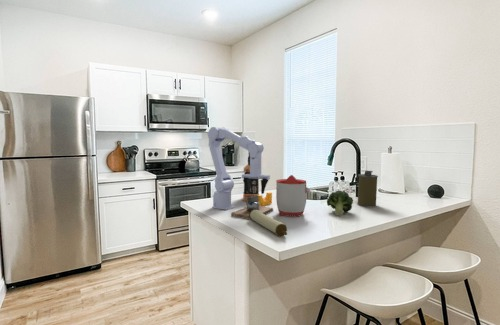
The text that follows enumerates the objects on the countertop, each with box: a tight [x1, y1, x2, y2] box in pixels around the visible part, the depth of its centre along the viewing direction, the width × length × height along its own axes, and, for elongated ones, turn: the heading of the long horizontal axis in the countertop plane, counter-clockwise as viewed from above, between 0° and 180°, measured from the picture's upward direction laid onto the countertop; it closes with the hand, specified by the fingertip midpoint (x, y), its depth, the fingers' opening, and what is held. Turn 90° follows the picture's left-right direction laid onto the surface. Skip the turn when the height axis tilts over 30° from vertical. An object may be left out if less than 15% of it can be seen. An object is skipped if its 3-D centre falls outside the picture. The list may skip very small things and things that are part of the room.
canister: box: [356, 170, 379, 208], centre depth 169 cm, size 11×10×20 cm
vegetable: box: [326, 189, 354, 217], centre depth 151 cm, size 12×13×15 cm
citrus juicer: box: [275, 174, 312, 217], centre depth 147 cm, size 16×17×20 cm
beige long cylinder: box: [249, 209, 288, 237], centre depth 126 cm, size 32×6×5 cm, turn 25°
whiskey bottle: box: [242, 152, 260, 202], centre depth 180 cm, size 10×10×32 cm
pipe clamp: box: [258, 191, 273, 207], centre depth 168 cm, size 12×4×6 cm, turn 143°
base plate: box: [231, 206, 274, 220], centre depth 149 cm, size 13×20×2 cm, turn 150°
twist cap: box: [246, 194, 260, 211], centre depth 148 cm, size 6×8×7 cm
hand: (255, 192), depth 148 cm, fingers open, 7 cm apart
